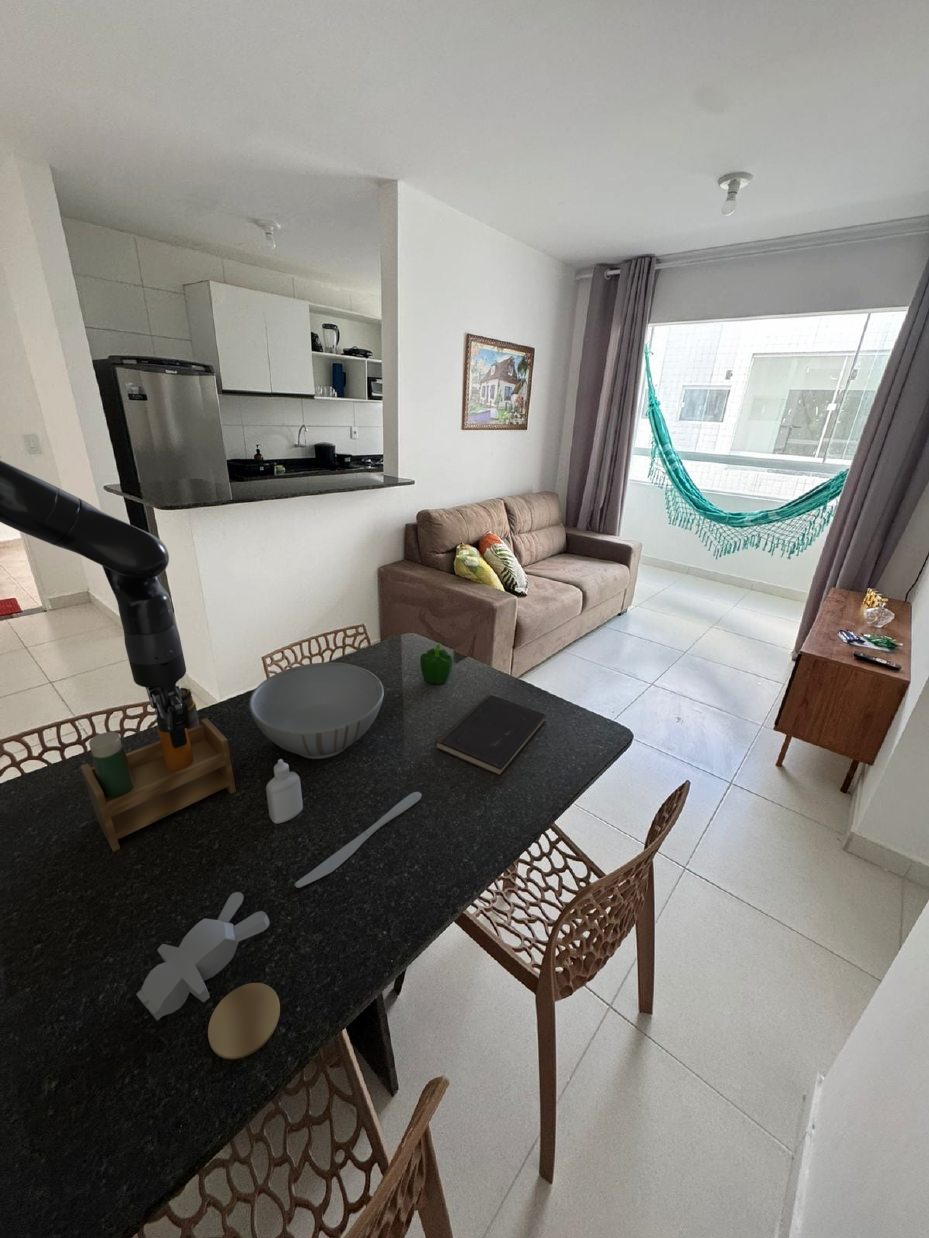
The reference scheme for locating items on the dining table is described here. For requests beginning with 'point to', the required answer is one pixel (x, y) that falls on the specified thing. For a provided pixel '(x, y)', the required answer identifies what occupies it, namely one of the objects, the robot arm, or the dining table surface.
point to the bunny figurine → (197, 959)
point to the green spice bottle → (111, 764)
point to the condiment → (190, 708)
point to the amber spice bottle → (173, 756)
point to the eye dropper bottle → (284, 794)
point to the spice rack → (162, 784)
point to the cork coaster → (244, 1021)
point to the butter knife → (356, 842)
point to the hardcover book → (492, 734)
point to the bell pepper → (436, 665)
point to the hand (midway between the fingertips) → (174, 738)
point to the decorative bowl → (317, 707)
